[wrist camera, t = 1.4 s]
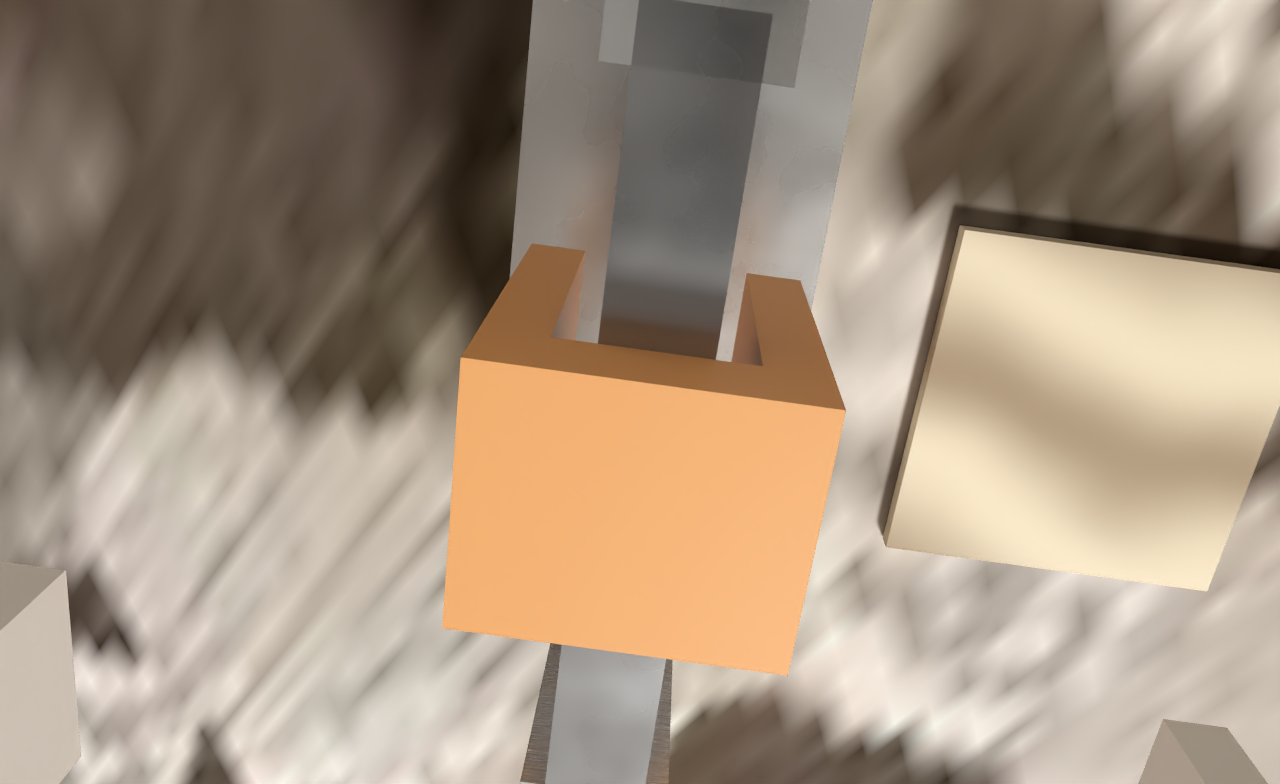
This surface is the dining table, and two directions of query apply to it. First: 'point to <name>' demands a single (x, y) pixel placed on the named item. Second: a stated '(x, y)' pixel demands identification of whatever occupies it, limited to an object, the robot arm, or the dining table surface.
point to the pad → (1089, 409)
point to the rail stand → (671, 241)
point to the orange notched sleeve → (639, 478)
